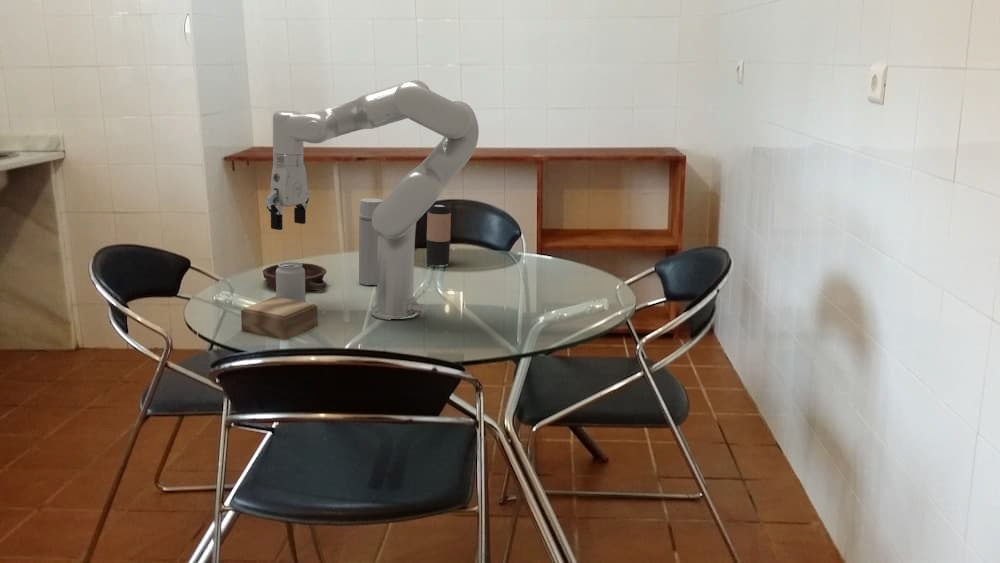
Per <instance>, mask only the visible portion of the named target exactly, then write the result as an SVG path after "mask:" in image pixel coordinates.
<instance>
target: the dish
mask: <svg viewBox="0 0 1000 563" xmlns="http://www.w3.org/2000/svg"><path fill="white" fill-rule="evenodd" d="M300 263H301V264H302V267H303V268H304V269H305V292H308V291H313V290H316V291H317V290H318V291H321V290H324V289H325V288H326V284H327V283H326V282H325V281H324V276H325V275H326V274H327V270H326V268H325V267H323V266H321V265H318V264H313V263H305V262H304V263H302V262H300ZM278 265H279V264H274V265H271V266H268V267H266V268H264V269H262V275H263V278H264V279H266V282H267V284H268V285H269V286H270V287H271V288H273V289H276V269H277V268H278V267H279V266H278Z"/></svg>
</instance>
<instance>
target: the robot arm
mask: <svg viewBox="0 0 1000 563" xmlns="http://www.w3.org/2000/svg"><path fill="white" fill-rule="evenodd" d="M406 119H409V121H410V120H411V121H412V122H413V123H414V122H415V123H416V124H418V125H420V126H422V127H424V128H425V129H426V128H427V129H428V130H430V131H432V132H434V133H436V134H438V135H440V136H442V139H441V141H440V142H439V143H438V144H437V145H436V146H435V147H434V148H433V149H432V151H431V152H430V153H429V154H428V155H427V156H426V157H425V158H424V159H423V161H422V162H420V164H418V165H417V166H416V167H414V168H413V169H412V170H411V171H409V172H408V173H407V174H406V175H405V176H404V177H403V178H402V179H401V180H400V182H398V184H397V185H396V186H395V187H394V188H393V189H392V190H391V191H390V192H389V193H388V194H387V196H386V197H385V198H384V199H382V200H383V201H382V202H381V203H380V204H379V205H378V206H377V207H376V209H375V210H374V212H373V215H372V225H373V228H374V230H375V232H376V233H377V234H378V258H377V285H376V287H377V288H376V304H375V305H374V306H371V308H370V314H371V315H372V316H373V317H375V318H377V319H380V320H381V319H382V320H385V321H386V320H387V321H392V320H391V319H400V318H403V317H408V316H412V315H414V314H417V313H419V314H425V311H426V304H425V303H419V302H418V298H417V297H416V296H414V284H415V283H414V279H415V278H414V277H415V276H414V273H415V271H414V269H415V248H416V247H415V244H416V231H417V230H416V229H417V228H416V227H417V222H418V221H419V219H421V218H422V217H423V216H424V214H425V213H427V212H428V209H429V208H430V207H431V206H432V205H433V204H434V203H436V201H437V200H438V199H439V197H440V195H441V194H442V192H443V190H445V188H446V187H447V185H448V184H450V182H451V181H452V180H454V178H455V177H456V176H457V175H458V173H459V172H460V171H461V170H462V169H463V168H464V167H465V165H467V163H468V162H469V160H470V159H471V157H472V156H473V155H474V153H475V150H476V148H477V145H478V142H479V132H480V131H479V128H480V127H479V122H478V120H477V116H476V114H475V112H474V110H473V108H472V106H470V105H469V104H468V103H466V102H464V101H462V100H461V101H460V100H454V101H452V100H451V99H448V98H447V97H444V96H442V95H440V94H439V93H436V92H434V91H432V90H431V89H430V88H429V86H428V85H427V84H426V83H425V82H423V81H422V80H421V81H420V80H408V81H405V82H402V83H399V84H396V85H392V86H389V87H386V88H383V89H380V90H376V91H372V92H369V93H366V94H364V95H361V96H359V97H357V98H355V99H354V100H352V101H348V102H346V103H342V104H339V105H336V106H332V107H330V108H325V109H323V110H319V111H315V112H310V113H301V112H299V111H295V110H278V111H274V113H273V115H272V160H273V161H272V169H271V177H270V178H271V179H270V193H269V194H268V195H267V196H266V197H265V198H264V201H265V202H264V203H265V204H266V209H267V210H268V213H269V214H270V229H271V230H278V231H282V230H283V214H282V211H283V210H284V207H288V208H289V207H294V212H293V214H294V216H293V219H294V221H293V222H294V223H295V224H301V225H305V224H306V219H307V218H306V209H307V208H308V204H309V200H310V199H309V198H310V196H311V195H310V194H311V190H310V189H308V177H307V171H306V166H305V164H304V143H309V144H322V143H323V142H326V141H328V140H331V139H334V138H338V137H340V136H343V135H347V134H350V133H353V132H357V131H362V130H369V129H371V130H372V129H376V128H380V127H384V126H386V125H389V124H392V123H397V122H399V121H403V120H406Z"/></svg>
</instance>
